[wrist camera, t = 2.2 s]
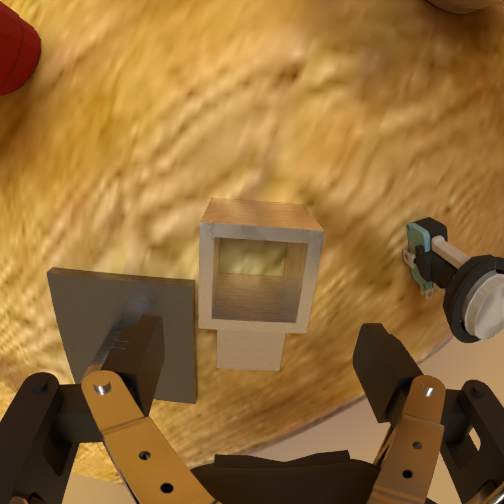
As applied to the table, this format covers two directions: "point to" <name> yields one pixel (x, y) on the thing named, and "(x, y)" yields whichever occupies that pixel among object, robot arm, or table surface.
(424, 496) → the robot arm
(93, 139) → the table surface
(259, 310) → the grey hollow block
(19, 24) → the plastic cup
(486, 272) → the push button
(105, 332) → the gray square plate
